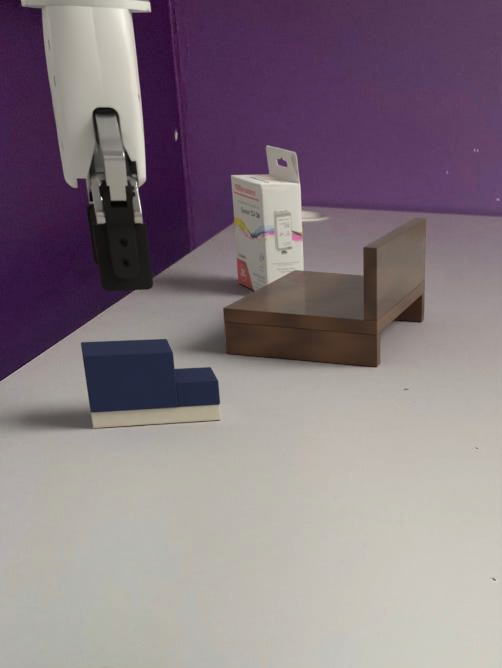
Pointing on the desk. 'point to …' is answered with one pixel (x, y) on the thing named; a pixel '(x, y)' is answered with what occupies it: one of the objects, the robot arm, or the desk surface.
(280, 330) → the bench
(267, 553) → the desk surface
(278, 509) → the desk surface
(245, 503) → the desk surface
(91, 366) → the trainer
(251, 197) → the ink cartridge box
